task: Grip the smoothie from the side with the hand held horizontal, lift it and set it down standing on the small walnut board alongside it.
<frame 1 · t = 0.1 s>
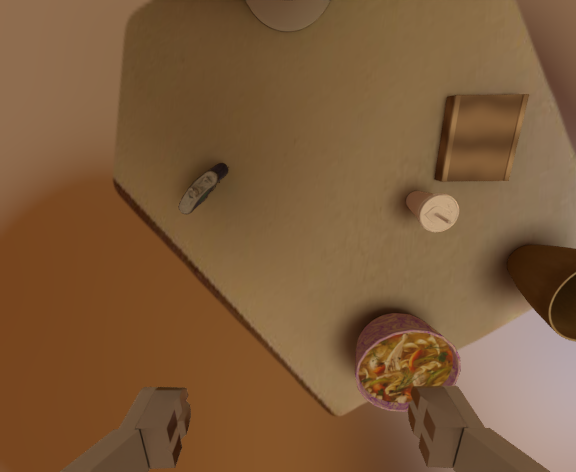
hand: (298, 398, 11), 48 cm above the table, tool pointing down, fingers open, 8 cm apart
flask: (210, 182, 56), on the table
board: (474, 139, 53), on the table
bowl of food: (388, 333, 68), on the table
plant pot: (523, 260, 62), on the table
smoothie: (415, 200, 57), on the table
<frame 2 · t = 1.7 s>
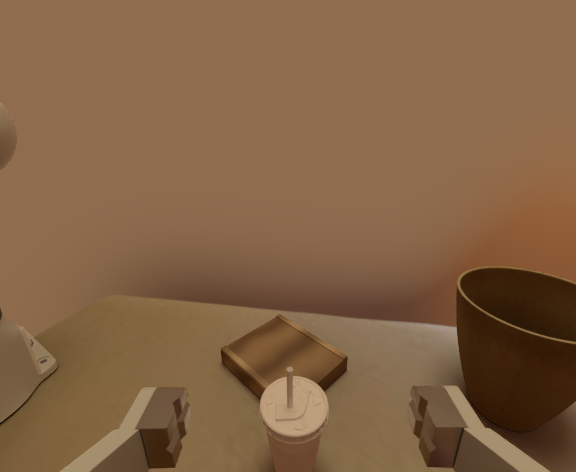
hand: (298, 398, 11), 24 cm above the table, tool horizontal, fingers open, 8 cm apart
board: (283, 366, 44), on the table
plant pot: (499, 406, 38), on the table
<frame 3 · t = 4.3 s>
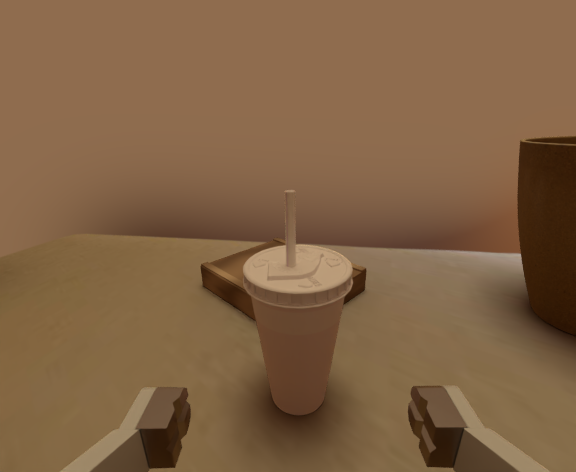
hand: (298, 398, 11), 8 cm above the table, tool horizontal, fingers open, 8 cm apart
board: (282, 287, 34), on the table
smoothie: (298, 393, 21), on the table
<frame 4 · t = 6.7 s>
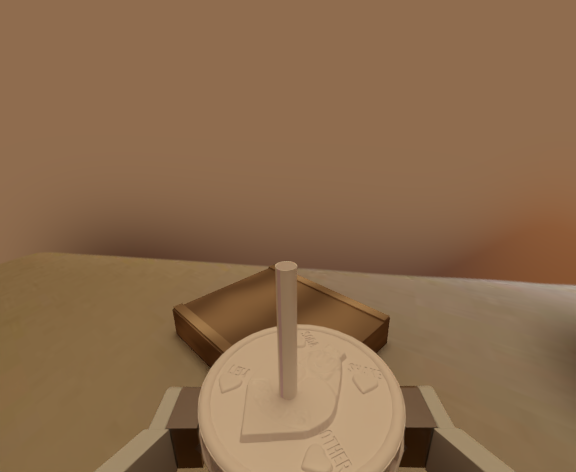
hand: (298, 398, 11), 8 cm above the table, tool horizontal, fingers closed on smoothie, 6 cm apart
board: (278, 337, 26), on the table
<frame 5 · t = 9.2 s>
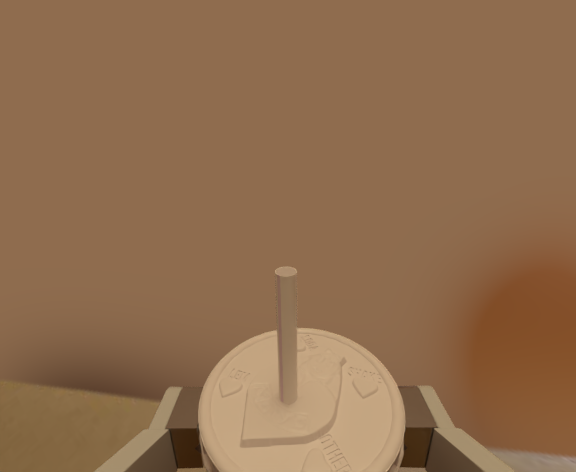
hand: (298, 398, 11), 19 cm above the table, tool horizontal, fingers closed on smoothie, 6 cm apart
when the fingers open (12 cm above the table, at t = 11.9 s): smoothie drops 1 cm, resting on board.
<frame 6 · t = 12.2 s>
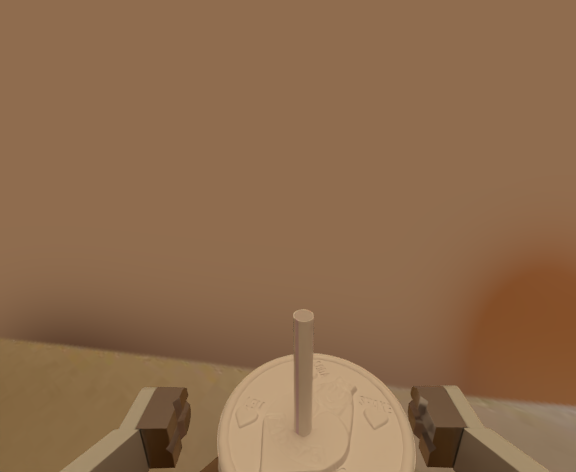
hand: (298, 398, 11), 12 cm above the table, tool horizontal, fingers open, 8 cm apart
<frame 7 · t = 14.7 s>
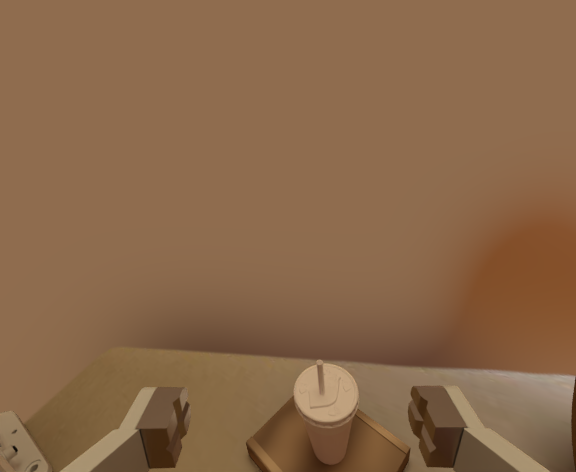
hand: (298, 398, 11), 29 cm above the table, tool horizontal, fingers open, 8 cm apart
board: (326, 458, 35), on the table
smoothie: (329, 447, 34), point 2 cm above the table, touching board
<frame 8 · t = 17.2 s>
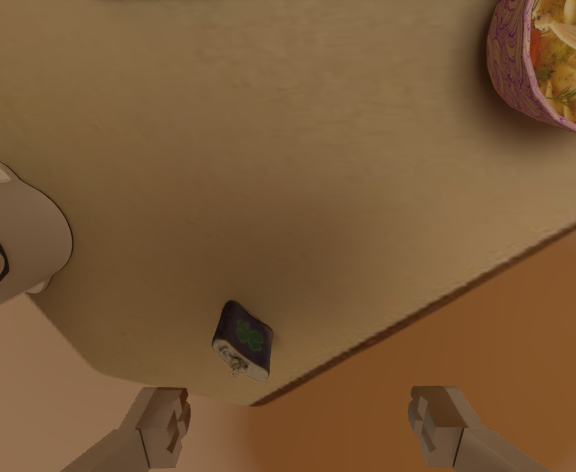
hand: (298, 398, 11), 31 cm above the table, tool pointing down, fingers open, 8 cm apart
flask: (248, 318, 47), on the table
bowl of food: (538, 41, 34), on the table
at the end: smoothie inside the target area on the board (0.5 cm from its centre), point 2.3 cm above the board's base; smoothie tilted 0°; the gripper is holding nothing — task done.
